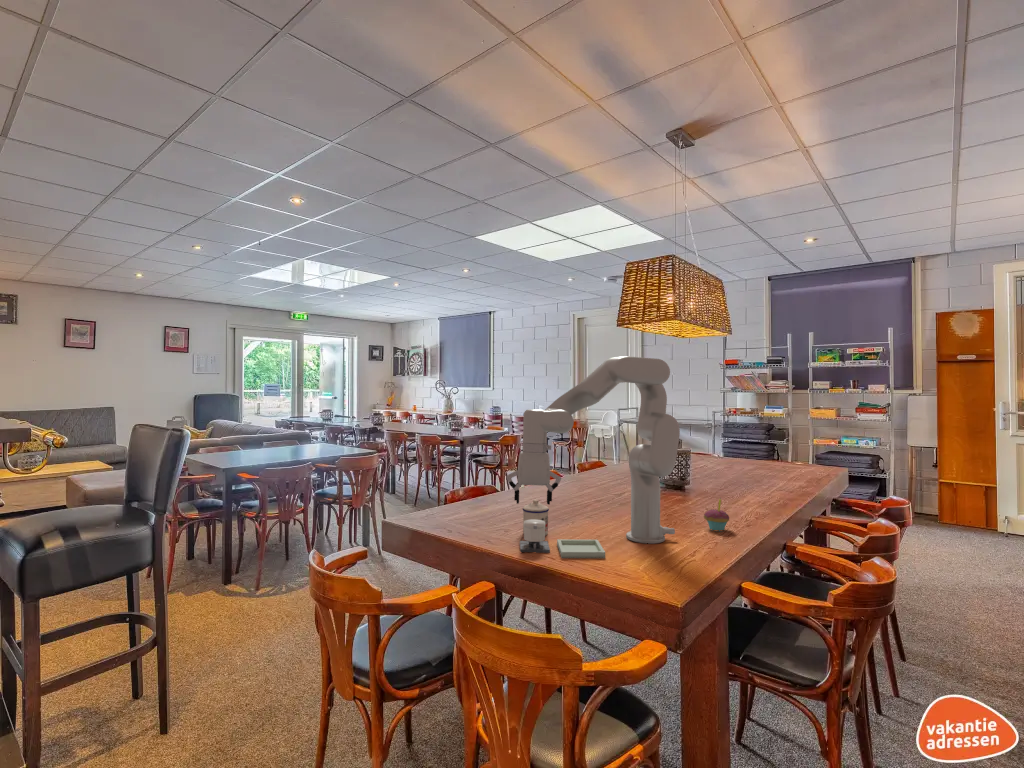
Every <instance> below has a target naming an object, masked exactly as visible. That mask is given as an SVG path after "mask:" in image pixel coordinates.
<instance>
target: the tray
mask: <svg viewBox="0 0 1024 768" xmlns="http://www.w3.org/2000/svg"><path fill="white" fill-rule="evenodd" d="M556 547H557V549H558V552H559V555H560V558H561V559H606V551H605V549H604V548H603V546H602V544H601V543H600V541H599V540H598V539H571V538H570V539H564V538H563V539H562V538H561V539H558V538H557V539H556Z"/></svg>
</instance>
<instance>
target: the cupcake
mask: <svg viewBox="0 0 1024 768" xmlns="http://www.w3.org/2000/svg"><path fill="white" fill-rule="evenodd" d="M721 504H722V497H719V498H718V505H717V506H718V507H717V509H709V510H707V511H705V513H704V514H703V518H704V520H706V521H707V524H708V527H709V530H711V529H712V530H711V531H713V530H719V531H718V532H721V531H720V530H724V531H725V529H726V526H727V523H728V522H729V521H730V516H729V514H728V513H727V512H726V511H724V510H721Z"/></svg>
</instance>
